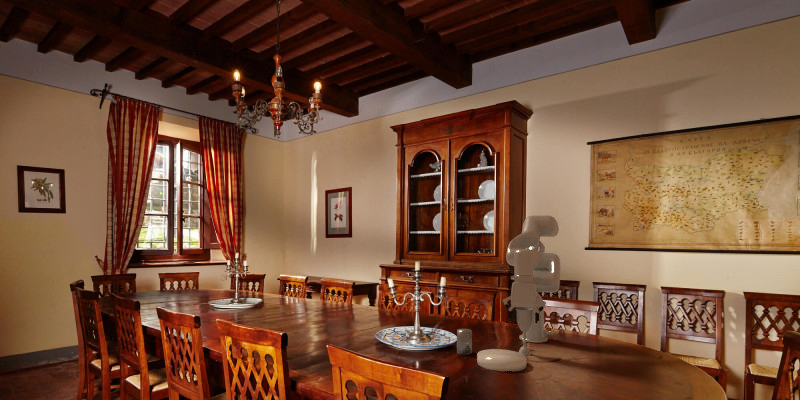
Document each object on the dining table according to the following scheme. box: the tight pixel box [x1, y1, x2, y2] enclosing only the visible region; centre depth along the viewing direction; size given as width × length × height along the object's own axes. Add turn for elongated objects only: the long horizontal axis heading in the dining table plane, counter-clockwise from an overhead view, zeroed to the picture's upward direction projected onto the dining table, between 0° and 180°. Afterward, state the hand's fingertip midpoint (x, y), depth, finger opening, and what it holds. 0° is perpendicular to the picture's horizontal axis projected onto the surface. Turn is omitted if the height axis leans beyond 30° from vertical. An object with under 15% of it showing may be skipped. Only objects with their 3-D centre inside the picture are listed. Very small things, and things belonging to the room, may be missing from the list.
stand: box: [476, 348, 527, 372], centre depth 160 cm, size 18×18×3 cm
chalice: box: [514, 307, 533, 356], centre depth 175 cm, size 7×7×18 cm
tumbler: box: [456, 328, 473, 356], centre depth 174 cm, size 6×6×9 cm
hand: (524, 321), depth 175 cm, fingers open, 9 cm apart
